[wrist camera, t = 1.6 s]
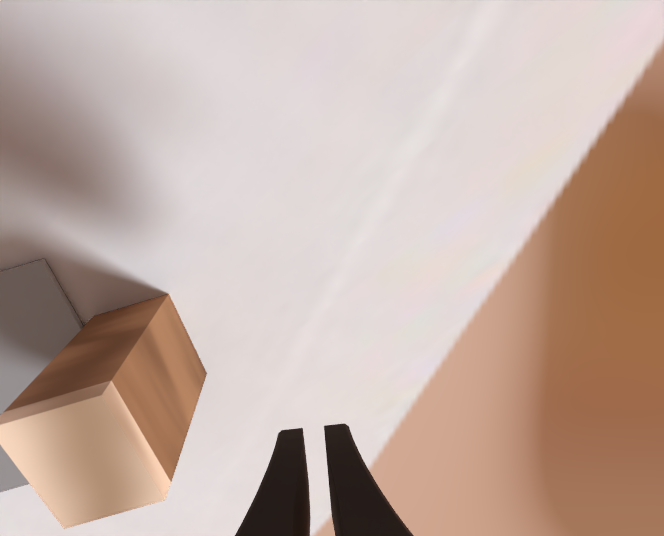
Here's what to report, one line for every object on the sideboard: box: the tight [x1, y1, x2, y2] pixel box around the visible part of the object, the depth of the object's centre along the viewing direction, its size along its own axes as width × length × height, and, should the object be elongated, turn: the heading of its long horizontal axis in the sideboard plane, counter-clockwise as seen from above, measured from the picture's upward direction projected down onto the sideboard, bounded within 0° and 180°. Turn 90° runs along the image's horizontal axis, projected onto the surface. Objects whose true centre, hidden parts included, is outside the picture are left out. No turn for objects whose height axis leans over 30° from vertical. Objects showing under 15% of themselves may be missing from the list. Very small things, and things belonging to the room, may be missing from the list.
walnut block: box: [0, 294, 207, 529], centre depth 19 cm, size 4×5×8 cm
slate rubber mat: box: [0, 259, 84, 492], centre depth 23 cm, size 11×12×1 cm
